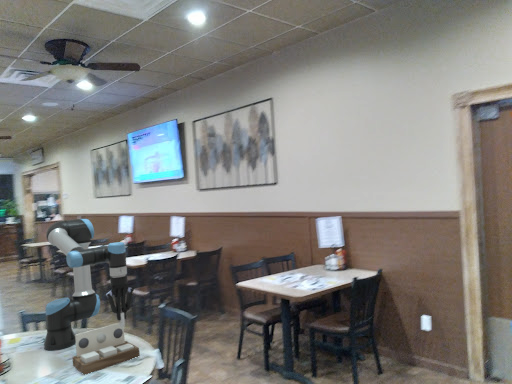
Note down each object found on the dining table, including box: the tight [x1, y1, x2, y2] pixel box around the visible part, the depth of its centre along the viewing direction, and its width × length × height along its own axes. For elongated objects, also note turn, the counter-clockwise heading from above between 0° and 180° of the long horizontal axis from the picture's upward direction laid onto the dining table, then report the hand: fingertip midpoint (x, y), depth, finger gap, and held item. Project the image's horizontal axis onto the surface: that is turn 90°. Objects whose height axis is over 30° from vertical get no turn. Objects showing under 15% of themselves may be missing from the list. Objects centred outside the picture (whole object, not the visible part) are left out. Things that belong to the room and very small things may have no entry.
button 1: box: [81, 351, 99, 364], centre depth 180 cm, size 6×6×3 cm
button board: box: [71, 340, 141, 376], centre depth 187 cm, size 15×25×4 cm, turn 131°
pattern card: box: [74, 322, 126, 357], centre depth 191 cm, size 2×22×10 cm, turn 131°
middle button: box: [99, 346, 117, 358], centre depth 185 cm, size 6×6×3 cm
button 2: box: [116, 342, 135, 352], centre depth 190 cm, size 6×6×3 cm
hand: (122, 326), depth 190 cm, fingers closed
